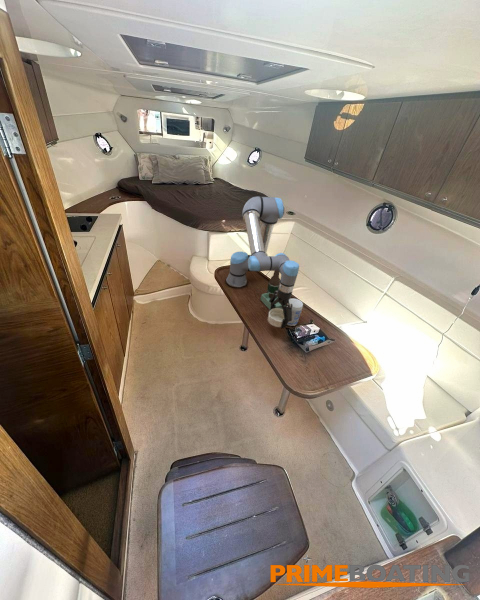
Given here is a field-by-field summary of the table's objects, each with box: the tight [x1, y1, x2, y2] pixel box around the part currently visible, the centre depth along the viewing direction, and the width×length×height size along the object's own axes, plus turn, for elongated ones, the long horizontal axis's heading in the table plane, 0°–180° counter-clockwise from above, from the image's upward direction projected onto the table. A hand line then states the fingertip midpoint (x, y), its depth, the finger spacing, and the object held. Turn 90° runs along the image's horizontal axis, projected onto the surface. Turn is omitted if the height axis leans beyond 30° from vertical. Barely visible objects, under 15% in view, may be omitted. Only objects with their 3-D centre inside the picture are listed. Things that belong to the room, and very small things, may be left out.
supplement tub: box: [286, 297, 304, 327], centre depth 152 cm, size 10×10×15 cm
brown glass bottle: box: [266, 271, 281, 298], centre depth 169 cm, size 8×8×24 cm
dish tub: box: [259, 292, 286, 311], centre depth 168 cm, size 15×15×5 cm
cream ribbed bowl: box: [267, 308, 284, 328], centre depth 141 cm, size 11×11×5 cm
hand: (277, 320), depth 143 cm, fingers closed on cream ribbed bowl, 11 cm apart
